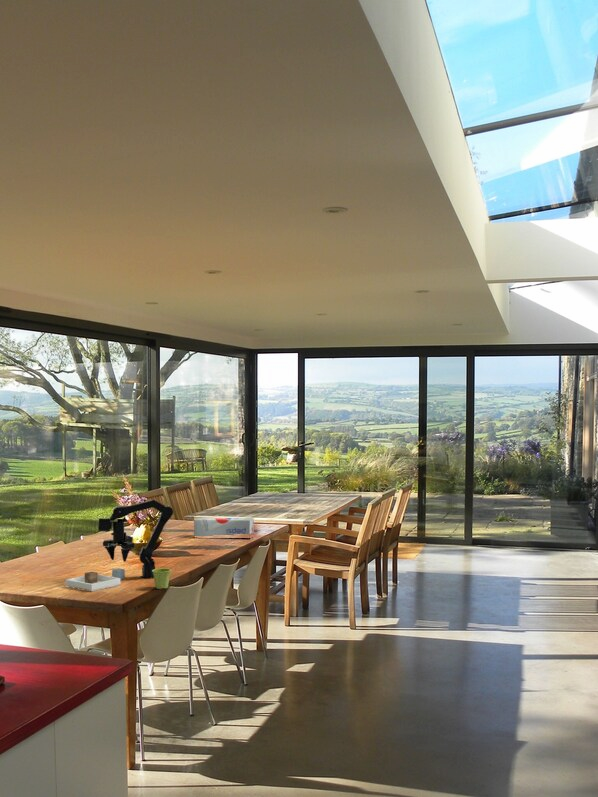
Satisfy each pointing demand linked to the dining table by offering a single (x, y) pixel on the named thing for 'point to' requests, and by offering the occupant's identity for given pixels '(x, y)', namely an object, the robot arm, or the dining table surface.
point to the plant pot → (161, 577)
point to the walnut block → (91, 577)
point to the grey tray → (101, 584)
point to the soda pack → (223, 526)
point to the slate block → (118, 573)
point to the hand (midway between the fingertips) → (118, 560)
